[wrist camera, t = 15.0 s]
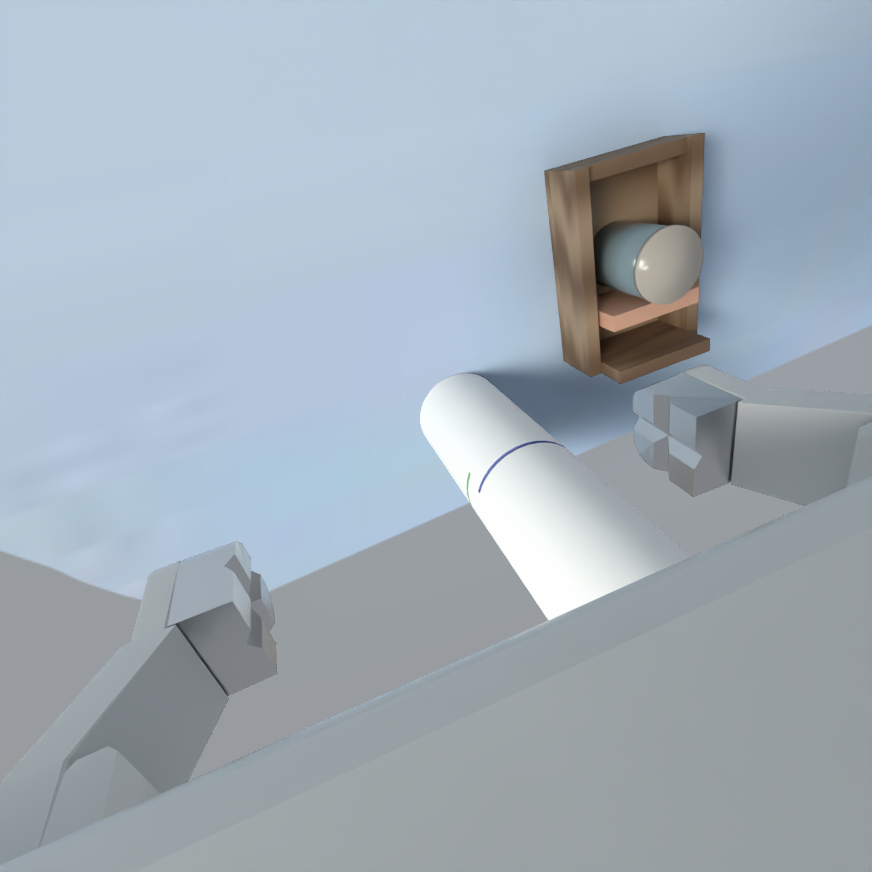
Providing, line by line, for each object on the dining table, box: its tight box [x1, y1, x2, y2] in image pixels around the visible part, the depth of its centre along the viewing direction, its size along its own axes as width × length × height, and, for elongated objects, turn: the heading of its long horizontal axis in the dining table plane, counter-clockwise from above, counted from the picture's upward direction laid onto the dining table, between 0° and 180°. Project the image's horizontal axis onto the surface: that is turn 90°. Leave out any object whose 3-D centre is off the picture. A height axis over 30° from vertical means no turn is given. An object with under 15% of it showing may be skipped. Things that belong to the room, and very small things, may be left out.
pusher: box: [597, 285, 699, 332], centre depth 40 cm, size 1×7×5 cm, turn 103°
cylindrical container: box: [420, 373, 690, 620], centre depth 33 cm, size 7×7×25 cm
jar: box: [593, 221, 703, 305], centre depth 38 cm, size 5×5×6 cm
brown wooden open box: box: [544, 133, 710, 384], centre depth 39 cm, size 15×10×7 cm, turn 13°
